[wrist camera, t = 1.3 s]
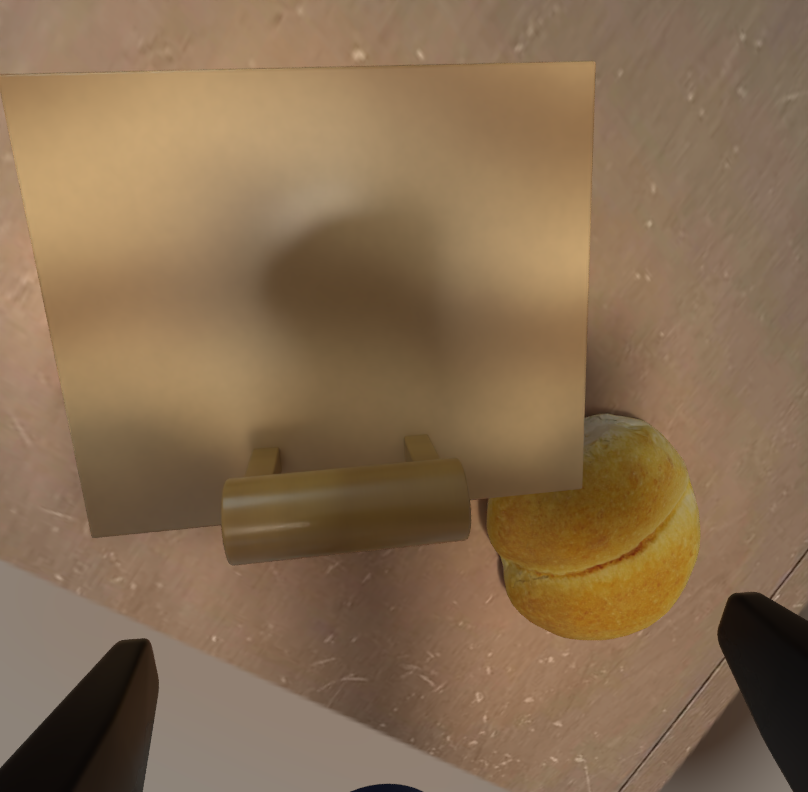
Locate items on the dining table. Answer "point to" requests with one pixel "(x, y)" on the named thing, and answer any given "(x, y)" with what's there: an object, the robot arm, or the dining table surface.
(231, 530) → the box door
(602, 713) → the dining table surface
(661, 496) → the bread roll
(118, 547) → the dining table surface
